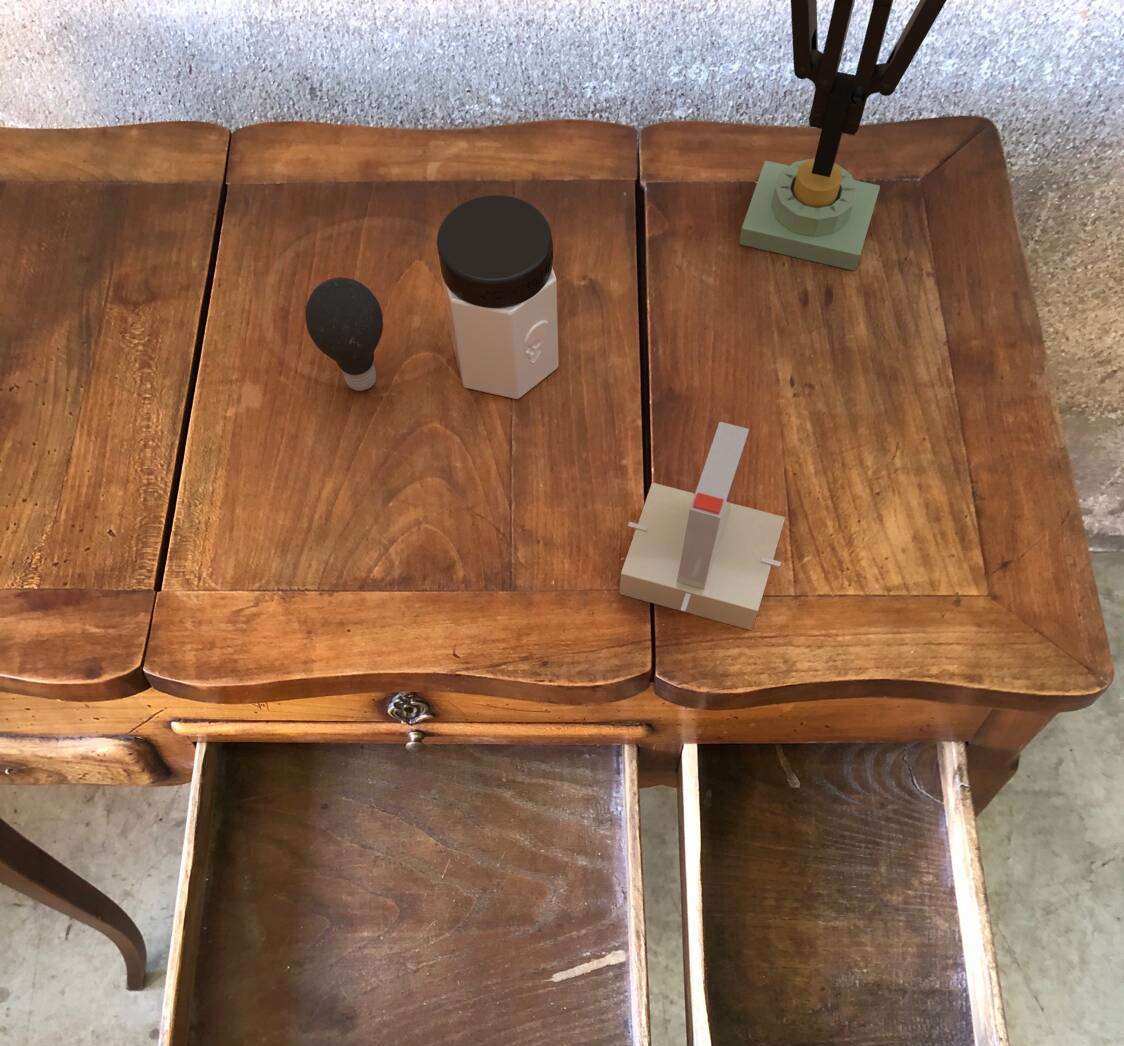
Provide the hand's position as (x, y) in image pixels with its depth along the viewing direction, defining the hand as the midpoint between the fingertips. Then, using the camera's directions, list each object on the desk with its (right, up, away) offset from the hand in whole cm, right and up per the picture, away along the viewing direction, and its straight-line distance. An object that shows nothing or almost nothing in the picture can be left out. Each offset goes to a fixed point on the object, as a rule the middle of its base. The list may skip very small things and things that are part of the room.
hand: (824, 163), depth 83 cm
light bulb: (-37, -18, +1) cm, 41 cm away
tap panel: (-11, -33, -6) cm, 35 cm away
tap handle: (-11, -32, -9) cm, 35 cm away
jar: (-25, -15, +1) cm, 30 cm away
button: (0, -1, +3) cm, 3 cm away
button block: (0, -2, +6) cm, 6 cm away
